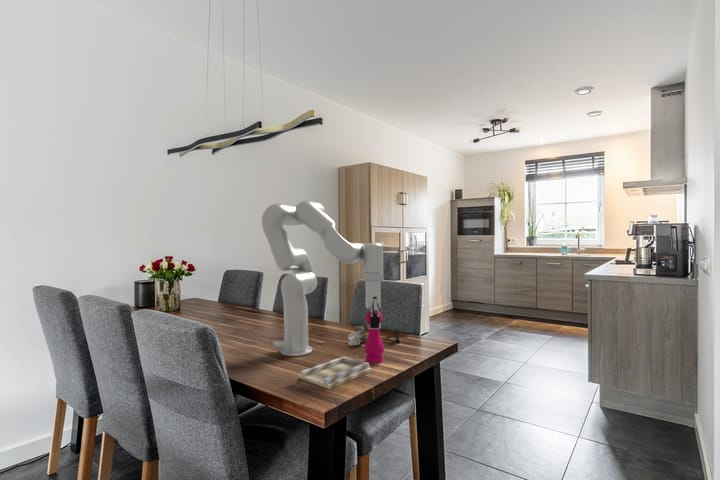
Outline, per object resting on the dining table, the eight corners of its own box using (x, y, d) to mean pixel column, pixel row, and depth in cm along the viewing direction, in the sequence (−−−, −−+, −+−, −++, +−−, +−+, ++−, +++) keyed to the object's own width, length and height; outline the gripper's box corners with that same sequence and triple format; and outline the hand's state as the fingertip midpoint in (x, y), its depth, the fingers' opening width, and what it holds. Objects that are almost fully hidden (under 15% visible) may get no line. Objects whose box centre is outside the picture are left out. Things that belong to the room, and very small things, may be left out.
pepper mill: (378, 365, 136) (377, 308, 136) (361, 361, 140) (360, 307, 139) (387, 359, 142) (387, 305, 142) (371, 356, 146) (370, 304, 146)
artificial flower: (401, 348, 161) (398, 327, 158) (348, 354, 162) (344, 333, 159) (399, 337, 169) (397, 317, 166) (349, 343, 171) (346, 323, 168)
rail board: (329, 389, 115) (328, 380, 115) (299, 378, 124) (299, 370, 124) (371, 371, 130) (371, 363, 130) (342, 362, 139) (342, 355, 139)
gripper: (361, 274, 149) (362, 320, 149) (364, 279, 132) (365, 331, 132) (380, 274, 149) (381, 320, 149) (386, 279, 132) (387, 331, 132)
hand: (374, 325), depth 141 cm, fingers closed on pepper mill, 5 cm apart
